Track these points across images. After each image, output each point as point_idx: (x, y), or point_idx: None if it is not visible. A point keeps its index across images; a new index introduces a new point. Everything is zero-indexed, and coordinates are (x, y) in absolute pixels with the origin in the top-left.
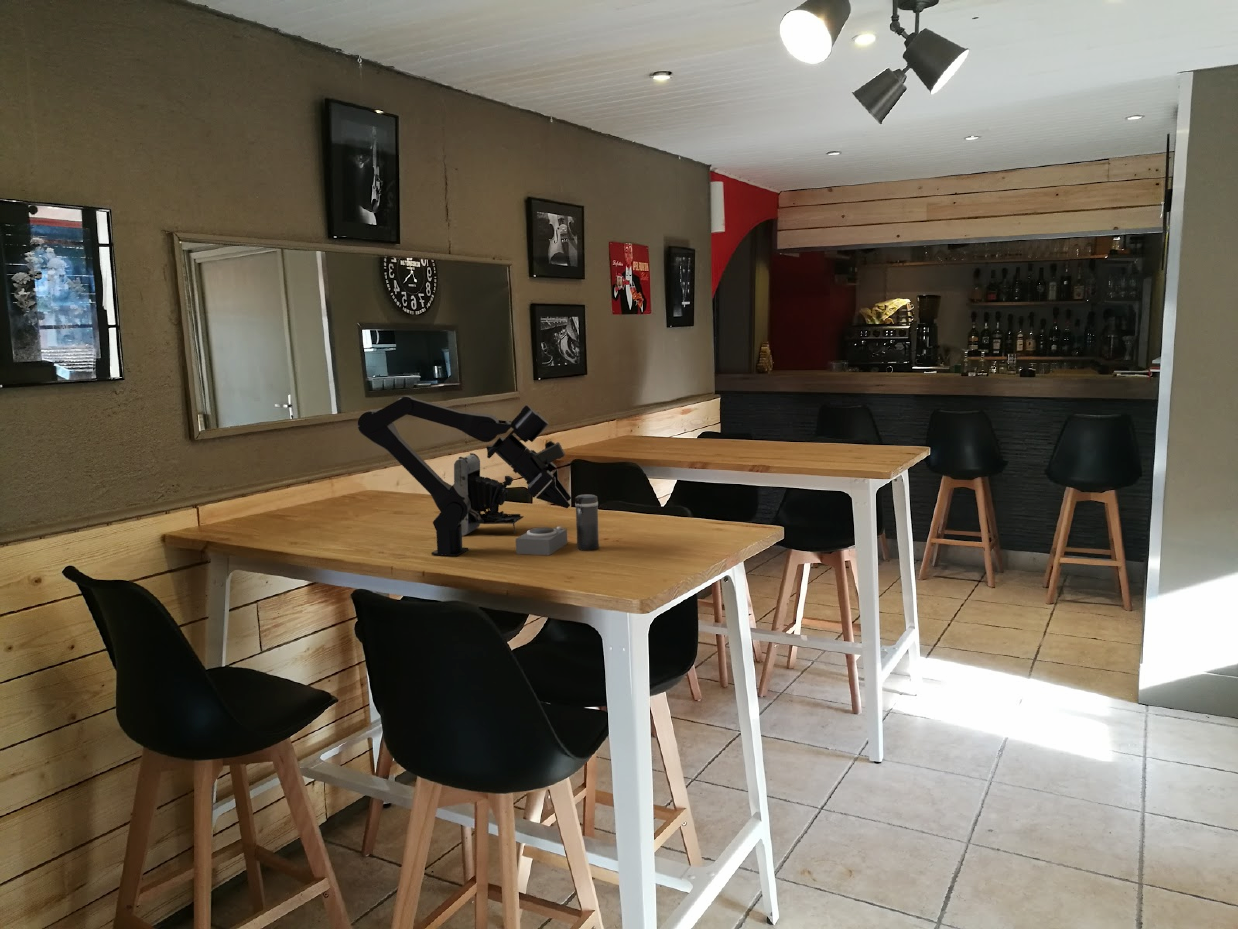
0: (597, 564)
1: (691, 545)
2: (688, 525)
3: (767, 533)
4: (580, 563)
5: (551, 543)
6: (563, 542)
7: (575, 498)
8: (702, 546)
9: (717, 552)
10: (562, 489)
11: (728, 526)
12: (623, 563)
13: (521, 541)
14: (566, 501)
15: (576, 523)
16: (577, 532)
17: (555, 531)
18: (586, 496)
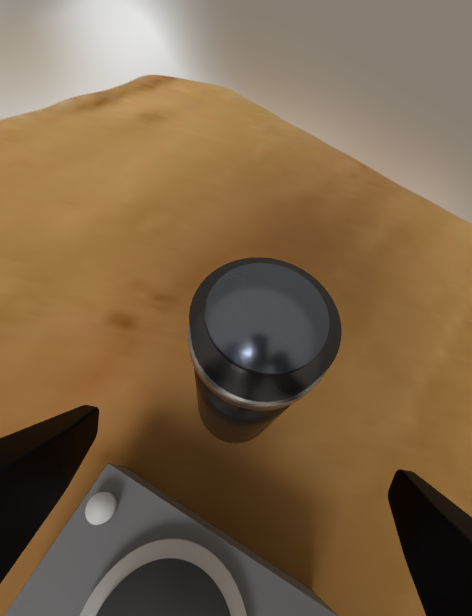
0: (446, 414)
1: (272, 184)
2: (82, 138)
3: (218, 87)
4: (437, 468)
5: (294, 584)
6: (160, 491)
7: (263, 394)
8: (286, 173)
9: (339, 170)
10: (16, 482)
11: (135, 102)
12: (430, 343)
13: None
14: (453, 507)
15: (246, 427)
16: (253, 432)
17: (201, 550)
18: (290, 315)
